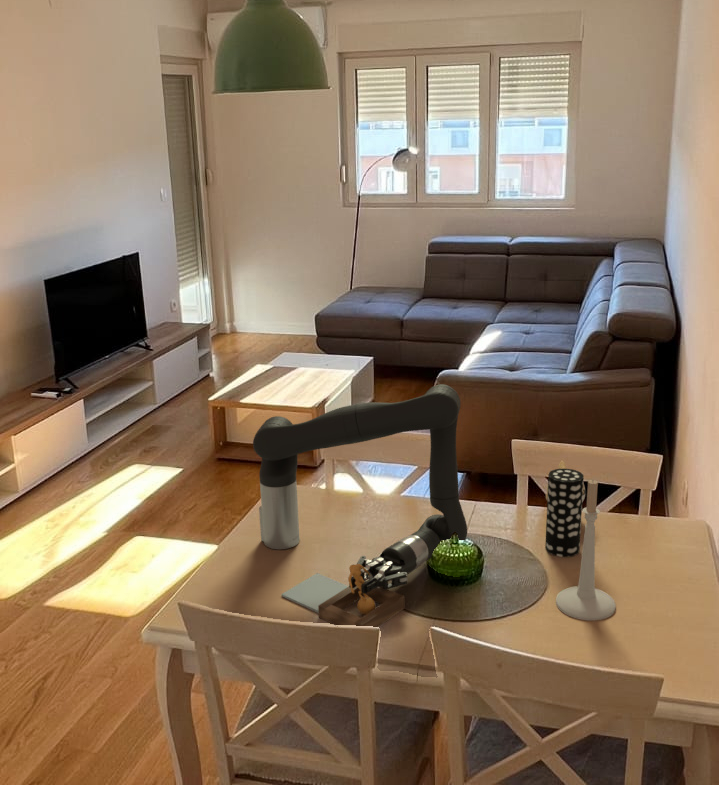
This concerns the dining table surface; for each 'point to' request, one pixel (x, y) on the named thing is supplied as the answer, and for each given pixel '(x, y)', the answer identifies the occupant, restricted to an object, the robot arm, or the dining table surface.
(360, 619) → the pocket frame
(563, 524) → the white-spotted black cylinder
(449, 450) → the robot arm
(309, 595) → the ceramic tile
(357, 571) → the figurine
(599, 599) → the candlestick
